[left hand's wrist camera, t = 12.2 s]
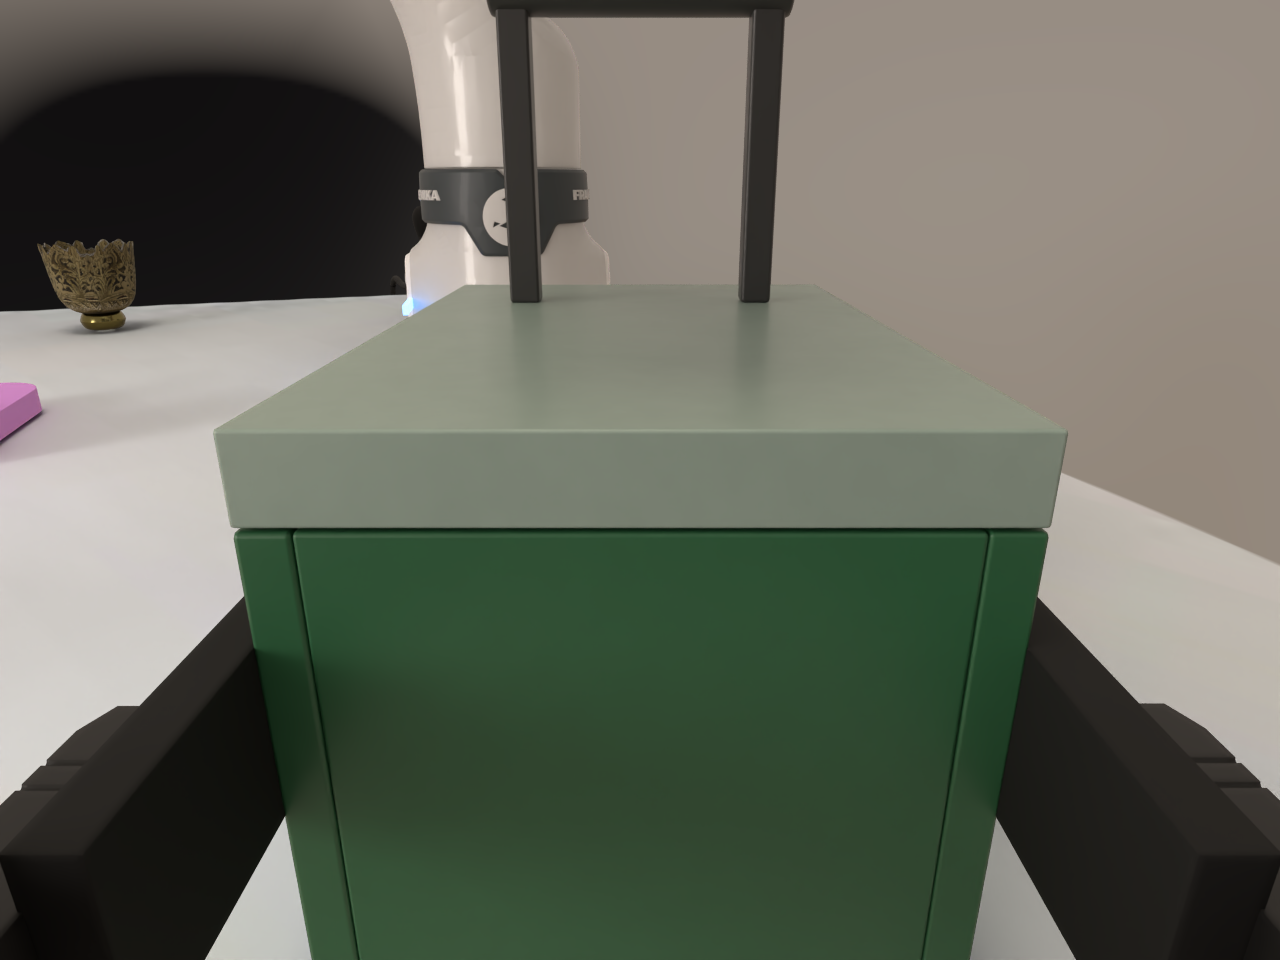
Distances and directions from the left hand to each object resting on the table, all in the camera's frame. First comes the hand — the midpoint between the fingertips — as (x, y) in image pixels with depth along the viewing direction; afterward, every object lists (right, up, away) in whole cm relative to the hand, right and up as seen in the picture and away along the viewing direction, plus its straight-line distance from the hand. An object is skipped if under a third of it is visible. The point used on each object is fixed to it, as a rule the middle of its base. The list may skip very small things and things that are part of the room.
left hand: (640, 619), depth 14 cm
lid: (0, +4, +3) cm, 5 cm away
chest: (0, -5, +6) cm, 8 cm away
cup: (-51, +17, +65) cm, 84 cm away
